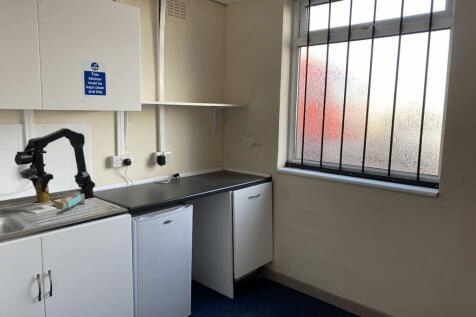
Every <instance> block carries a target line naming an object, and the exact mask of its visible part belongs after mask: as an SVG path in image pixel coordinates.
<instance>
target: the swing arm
mask: <svg viewBox="0 0 476 317" xmlns="http://www.w3.org/2000/svg"><path fill="white" fill-rule="evenodd" d="M81 200H82V195H80V194H78V195H77V196H75V198H73V199H71V200H69V201H67V202H66V204H65V206H66V208H65V209H67V208H70V207H73V206H74V205H76V204H79V203H78V202H80V201H81Z"/></svg>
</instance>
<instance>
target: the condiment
mask: <svg viewBox="0 0 476 317" xmlns="http://www.w3.org/2000/svg"><path fill="white" fill-rule="evenodd" d="M35 193H36V194H35V195H36V200H35V201H31V202H30V203H31V204H33V205H38V204H46V203H51V202H53V200H50V190H49V184H48V185H47V187H46V189H45V191H44V192H42V191H41V186H40V183H39V182H38V181H37V180H36V190H35Z"/></svg>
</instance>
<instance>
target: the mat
mask: <svg viewBox="0 0 476 317" xmlns="http://www.w3.org/2000/svg"><path fill="white" fill-rule="evenodd" d="M24 210H25V211H26V212H29V213H32V214H35V215H36V214H37V215H38V214H41V213H46V212H51V211H54V210H58V207H56V206H52V205H48V204H43V205H40V206H39V205H38V206H35V207H29V208H25V209H24Z"/></svg>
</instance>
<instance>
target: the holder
mask: <svg viewBox="0 0 476 317" xmlns="http://www.w3.org/2000/svg"><path fill="white" fill-rule="evenodd" d="M79 195H82V200H81V201H80V202H78V203H77V204H80V205H81V206H84V205H86V203H85V200H86V199H84V194H80V193H79ZM75 197H76V196H74V195H73V196H68V197H64V198H59V199H54V200H52V202H53V206H52V207H55V208H60V209H66V208H65V205H66V202H67V201H69V200H71V199H73V198H75Z"/></svg>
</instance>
